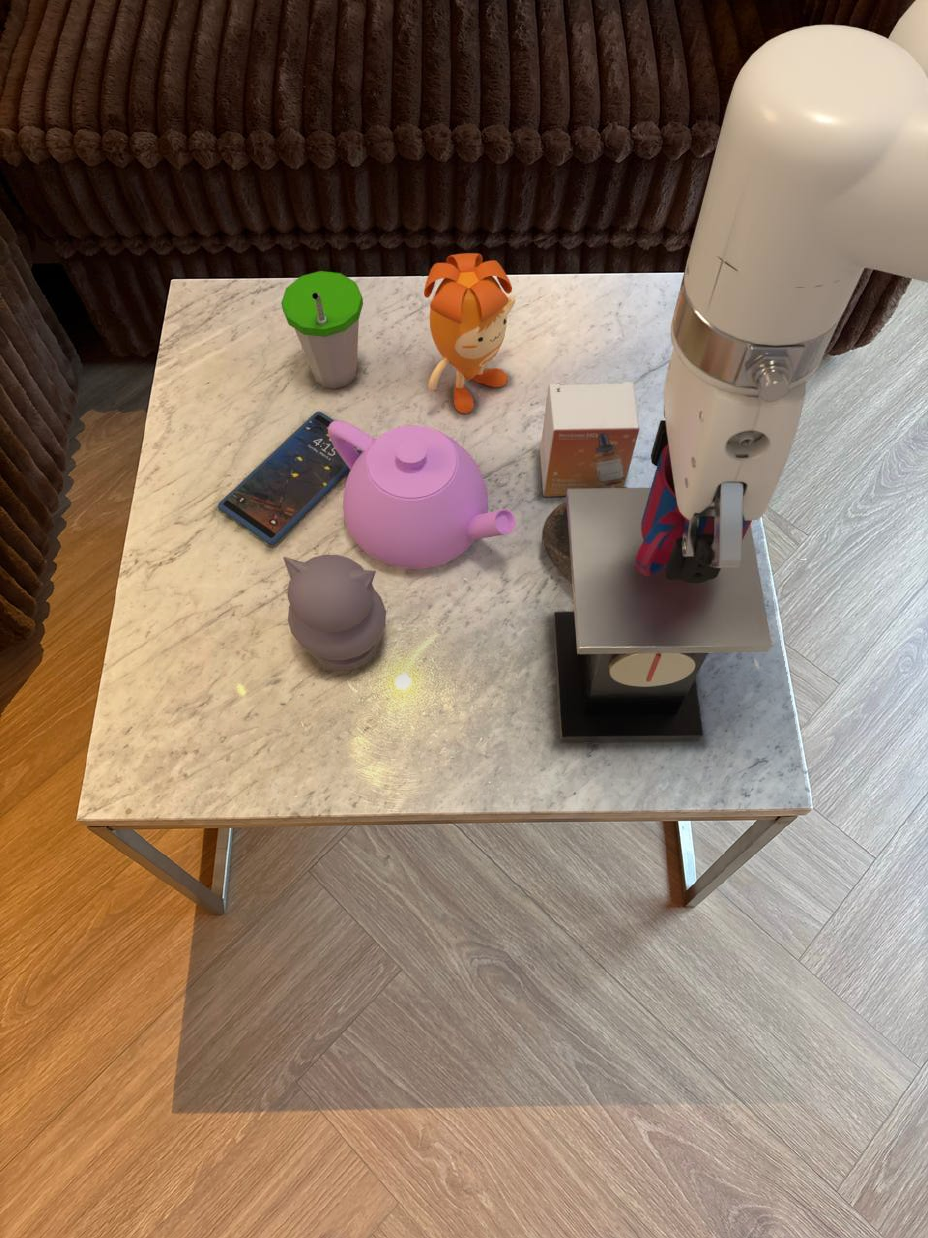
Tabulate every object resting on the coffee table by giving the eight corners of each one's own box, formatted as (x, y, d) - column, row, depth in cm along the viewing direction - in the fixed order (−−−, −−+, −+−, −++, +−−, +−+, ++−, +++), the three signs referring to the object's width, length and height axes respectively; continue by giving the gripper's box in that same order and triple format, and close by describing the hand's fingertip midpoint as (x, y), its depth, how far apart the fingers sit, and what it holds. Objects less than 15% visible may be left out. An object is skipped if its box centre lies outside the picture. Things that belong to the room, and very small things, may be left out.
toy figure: (453, 436, 97) (450, 328, 83) (401, 393, 99) (390, 282, 86) (534, 374, 100) (543, 261, 87) (481, 334, 103) (483, 219, 90)
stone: (685, 572, 89) (696, 544, 85) (595, 630, 86) (602, 604, 82) (610, 491, 93) (617, 460, 89) (522, 543, 91) (525, 514, 86)
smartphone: (214, 504, 92) (317, 408, 97) (216, 509, 92) (318, 413, 98) (272, 545, 90) (374, 444, 95) (273, 549, 90) (374, 449, 96)
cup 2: (761, 534, 64) (791, 474, 58) (659, 622, 61) (680, 568, 55) (686, 474, 66) (708, 410, 60) (585, 556, 63) (597, 497, 57)
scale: (688, 613, 87) (744, 486, 69) (706, 747, 81) (772, 646, 63) (547, 614, 87) (567, 488, 69) (554, 748, 81) (578, 648, 63)
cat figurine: (287, 671, 85) (260, 609, 74) (308, 595, 88) (286, 525, 77) (380, 686, 84) (367, 625, 73) (398, 609, 87) (388, 540, 77)
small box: (542, 498, 93) (550, 430, 84) (539, 452, 96) (546, 381, 86) (623, 496, 93) (641, 428, 84) (618, 451, 96) (634, 379, 86)
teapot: (472, 622, 87) (472, 563, 77) (299, 523, 92) (279, 456, 82) (548, 516, 92) (557, 448, 83) (380, 428, 97) (371, 355, 88)
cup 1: (322, 336, 103) (300, 221, 90) (385, 360, 101) (372, 247, 88) (284, 385, 100) (255, 274, 86) (348, 411, 98) (329, 302, 85)
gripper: (869, 461, 42) (760, 637, 57) (800, 192, 50) (721, 410, 65) (698, 463, 42) (636, 638, 57) (657, 193, 50) (612, 411, 65)
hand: (681, 516), depth 61 cm, fingers closed on cup 2, 8 cm apart
